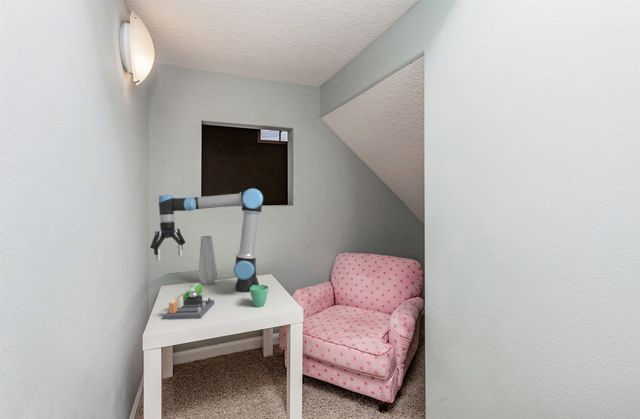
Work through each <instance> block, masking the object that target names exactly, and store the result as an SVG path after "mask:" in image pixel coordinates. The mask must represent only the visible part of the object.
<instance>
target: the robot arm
mask: <svg viewBox="0 0 640 419" xmlns="http://www.w3.org/2000/svg"><path fill="white" fill-rule="evenodd" d="M263 195H264V194H263V193H262V192H261V191H260V190H259V189H257V188H248V189H247V190H245V191H240V192H239V193H234V194H233V193H231V194H221V195H220V194H219V195H210V196H209V195H208V196H207V195H206V196H196V197H177V198H176V197H174V195H173V194H161V195H159V196H158V209H159V210H158V211H159V212H158V213H159V222H160V223H159V226H160V227H159V228H160V231H159V230H155V232H154V236H153V239H152V242H151V245H150V249H153V252H154V255H155V260H156V261H161V254H160V253H161V252H160V248H159V247H160V246H161V244H162V243H163V242H164V241H165V239H168V238H170V239H171V238H172V240H174V241H175V242H176V243H177V256H178V257H182V256H183V252H182V251H183V245H184V244H186V241H185V239H184V236H183V235H182V233H181V230H180V228H176V227H175V226H176V225H175V222H174V221H175V212H186V211H187V212H191V211H195V210H201V209H202V210H203V209H215V208H226V207H227V208H228V207H237V206H240V207H241V211H242V212H243V216H242V217H243V219H242V226H241V235H240V242H239V251H238V253H237V254H236V255H235V256H236V257H235V263H234V264H235V265H234V267H233V274H234V276H235V277H236V278H237V280H236V282H235V286H234V287H235V288H234V289H235V291H237V292H239V293H240V292H241V293H247V292H248V293H250V287H252V285H260V283H259V281H258V277H257V264H256V262H257V261H256V260H257V255H256V253H255V246H256V238H257V231H258V230H257V229H258V221H259V215H260V214H261V213H262V209H263V208H262V207H263V202H264V196H263Z"/></svg>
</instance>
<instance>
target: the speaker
mask: <svg viewBox="0 0 640 419" xmlns="http://www.w3.org/2000/svg"><path fill="white" fill-rule="evenodd" d="M191 291H198V295H202V292H203V285H202V284H200V283H197V282H196V283H192V285H191V286H190V287H189V288H188V289H187V291H186V292H185V293H184V295H183V300H185V299H186V298H187V297H189V292H191Z"/></svg>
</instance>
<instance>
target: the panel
mask: <svg viewBox="0 0 640 419" xmlns="http://www.w3.org/2000/svg"><path fill="white" fill-rule="evenodd" d="M214 305H215V299H211V298H210V297H203V295H202V294H200V295H198V298H197V299H189V297H187V298H186V299H184V300H183V306H182V307H181V308H178V310H177V311H176V312H175V313H169V311H168V312H166V313H165V314H164V315H163V320H164V319H168V320H195V319H197V320H199V319H202V318H203V316H204V315H205V314H206V313H207V312H208V311H210V309H211V308H212V307H213V306H214Z"/></svg>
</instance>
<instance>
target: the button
mask: <svg viewBox="0 0 640 419" xmlns="http://www.w3.org/2000/svg"><path fill="white" fill-rule="evenodd" d="M197 298H198V291H191V292H189V299H197Z"/></svg>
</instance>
